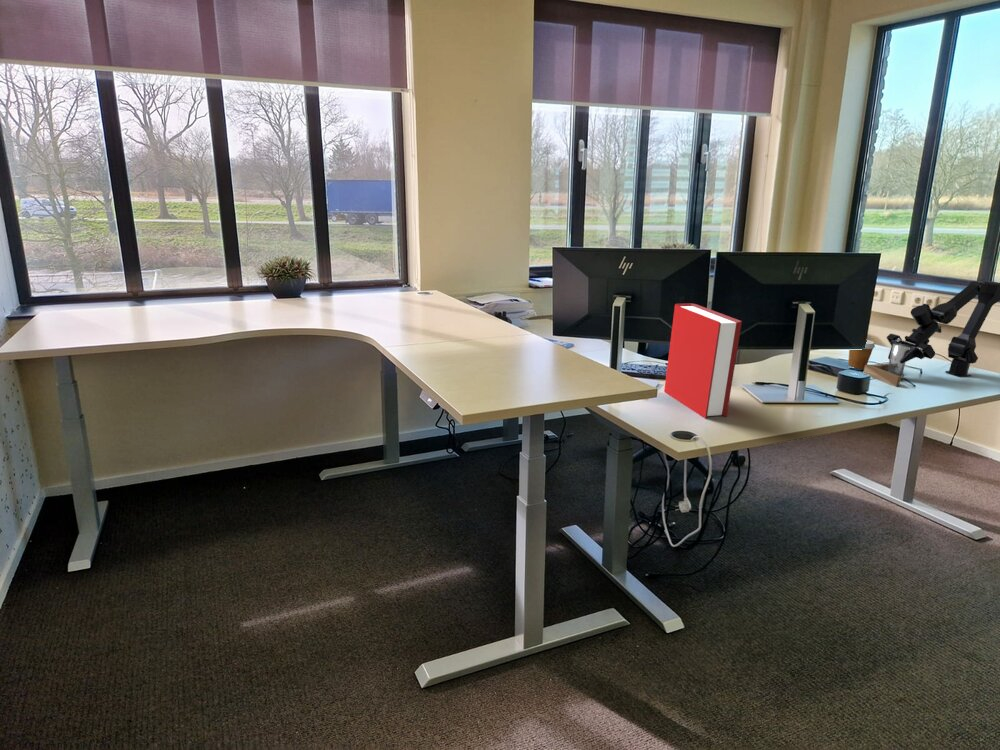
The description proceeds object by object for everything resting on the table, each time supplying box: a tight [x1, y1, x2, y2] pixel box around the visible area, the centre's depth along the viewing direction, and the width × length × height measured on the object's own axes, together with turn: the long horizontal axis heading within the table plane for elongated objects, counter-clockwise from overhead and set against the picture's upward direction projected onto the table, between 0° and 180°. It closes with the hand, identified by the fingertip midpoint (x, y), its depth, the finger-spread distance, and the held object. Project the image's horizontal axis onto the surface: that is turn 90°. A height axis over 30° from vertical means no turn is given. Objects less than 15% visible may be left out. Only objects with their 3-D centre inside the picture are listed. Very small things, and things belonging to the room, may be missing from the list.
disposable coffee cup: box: [847, 339, 876, 372], centre depth 261 cm, size 10×10×12 cm
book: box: [663, 302, 743, 419], centre depth 211 cm, size 27×8×32 cm, turn 16°
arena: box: [863, 363, 902, 388], centre depth 250 cm, size 15×16×4 cm
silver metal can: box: [887, 343, 910, 380], centre depth 250 cm, size 6×6×13 cm
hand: (894, 360), depth 249 cm, fingers closed on silver metal can, 5 cm apart
